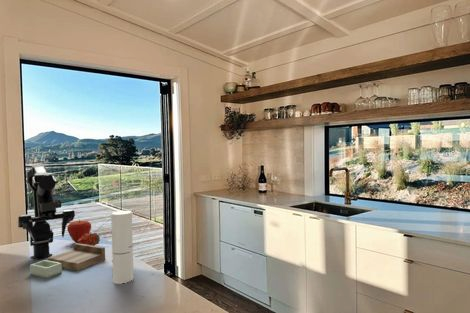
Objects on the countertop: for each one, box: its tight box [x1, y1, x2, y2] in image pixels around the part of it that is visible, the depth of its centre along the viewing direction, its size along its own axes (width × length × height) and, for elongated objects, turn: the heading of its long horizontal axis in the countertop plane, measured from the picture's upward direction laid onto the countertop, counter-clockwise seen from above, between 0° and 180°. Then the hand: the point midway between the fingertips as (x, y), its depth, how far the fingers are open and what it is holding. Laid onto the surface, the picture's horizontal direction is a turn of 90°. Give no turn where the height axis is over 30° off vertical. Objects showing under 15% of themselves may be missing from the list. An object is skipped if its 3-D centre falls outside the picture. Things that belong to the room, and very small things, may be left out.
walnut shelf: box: [47, 242, 106, 272], centre depth 138 cm, size 18×14×6 cm
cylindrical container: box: [110, 210, 134, 285], centre depth 117 cm, size 7×7×25 cm
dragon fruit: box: [77, 231, 101, 246], centre depth 157 cm, size 8×8×12 cm
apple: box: [66, 219, 92, 243], centre depth 168 cm, size 11×11×12 cm
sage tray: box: [29, 259, 63, 280], centre depth 125 cm, size 10×6×4 cm, turn 65°
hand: (49, 239), depth 121 cm, fingers open, 9 cm apart
